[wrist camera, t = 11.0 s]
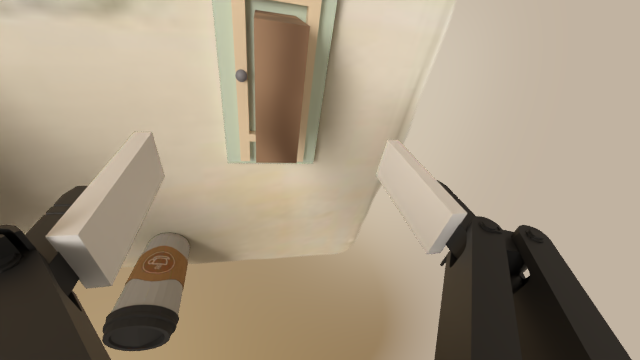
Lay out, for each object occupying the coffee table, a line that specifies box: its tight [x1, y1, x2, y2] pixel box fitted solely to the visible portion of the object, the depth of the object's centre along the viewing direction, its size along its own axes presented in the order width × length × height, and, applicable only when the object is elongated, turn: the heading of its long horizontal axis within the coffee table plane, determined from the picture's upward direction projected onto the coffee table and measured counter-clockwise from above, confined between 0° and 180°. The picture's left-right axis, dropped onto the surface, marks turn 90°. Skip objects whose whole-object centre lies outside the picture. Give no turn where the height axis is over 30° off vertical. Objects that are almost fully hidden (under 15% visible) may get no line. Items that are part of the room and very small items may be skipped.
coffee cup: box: [102, 233, 190, 351], centre depth 37 cm, size 8×8×15 cm
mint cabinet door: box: [212, 0, 337, 164], centre depth 28 cm, size 12×24×3 cm, turn 172°
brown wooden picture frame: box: [254, 10, 310, 163], centre depth 24 cm, size 4×12×9 cm, turn 172°
